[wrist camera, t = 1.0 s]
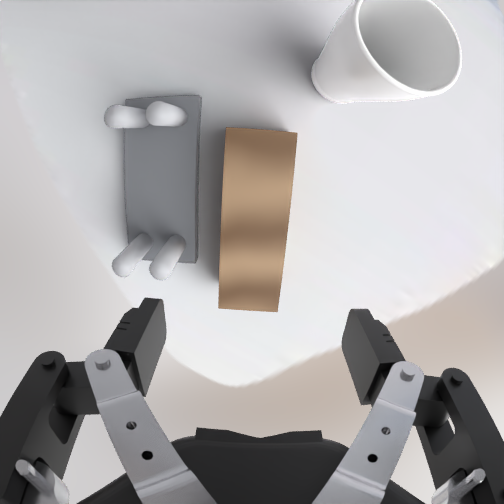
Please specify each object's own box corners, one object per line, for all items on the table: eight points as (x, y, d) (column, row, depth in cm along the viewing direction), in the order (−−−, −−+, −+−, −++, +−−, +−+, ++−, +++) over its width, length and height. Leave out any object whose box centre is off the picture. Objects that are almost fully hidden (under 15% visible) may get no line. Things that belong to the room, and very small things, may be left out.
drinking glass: (287, 73, 24) (322, 15, 10) (336, 34, 22) (403, -33, 8) (336, 125, 26) (416, 122, 12) (383, 85, 24) (481, 61, 10)
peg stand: (131, 100, 25) (95, 93, 18) (201, 97, 25) (183, 85, 18) (134, 253, 31) (106, 286, 24) (197, 257, 31) (182, 293, 24)
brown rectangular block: (230, 128, 26) (226, 127, 22) (289, 133, 26) (297, 132, 22) (223, 283, 32) (218, 308, 28) (274, 286, 32) (277, 312, 28)
